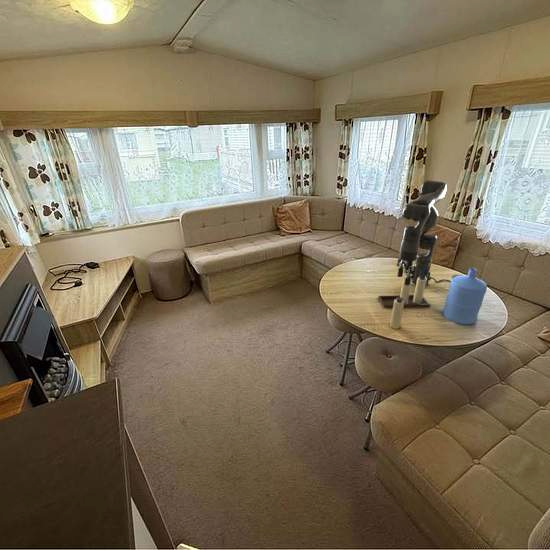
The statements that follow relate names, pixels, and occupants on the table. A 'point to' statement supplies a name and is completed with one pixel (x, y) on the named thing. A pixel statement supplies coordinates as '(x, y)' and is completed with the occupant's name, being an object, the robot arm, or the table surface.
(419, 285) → the bottle
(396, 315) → the cream pillar candle
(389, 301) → the tray
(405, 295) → the bottle
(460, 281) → the water jug
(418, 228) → the robot arm
